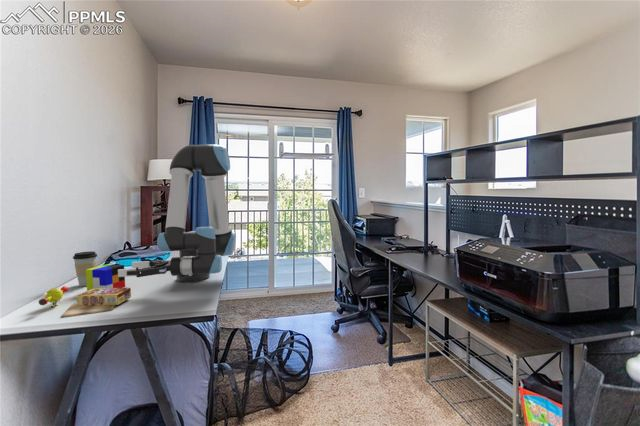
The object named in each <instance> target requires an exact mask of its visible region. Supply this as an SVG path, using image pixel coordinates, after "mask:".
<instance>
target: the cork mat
mask: <svg viewBox="0 0 640 426" xmlns="http://www.w3.org/2000/svg"><path fill="white" fill-rule="evenodd" d="M115 307H116V305H91V306H77V303H71V305H70V306H69V307H68V308H67V309H66V310H65V311H64V312H63V313H62V315H61V318H67V317H74V316H81V315H88V314H94V313H95V314H96V313H102V312H110V311H114V309H115Z"/></svg>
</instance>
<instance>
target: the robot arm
mask: <svg viewBox="0 0 640 426" xmlns="http://www.w3.org/2000/svg"><path fill="white" fill-rule="evenodd" d="M230 160H231V159H230V155H229V152H228V150H227V148H226V146H224V145H223V144H221V145H220V144H187V145H186V146H184V147H182V148H180V150H179V151H177V153H176V154H175V155H174V156H173V158H172V160H171V162H170V165H169V170H168V171H169V175H170V176H171V177H170V178H171V179H170V185H169V195H168V203H167V211H166V219H165V220H166V221H165V227H164V229H165V230H164V231H165V232H160V233H159V234H158V237H157V238H156V239H157V240H156V243H157V248H158V249H159V250H160V251H161V252H179V256H173V257H171V259H170V260H167V259H166V260H162V259H153V260H151V261H149V260H148V261H147V260H146V261H145V260H144V261H132V262H131V266H132V267H131V268H124V269H119V270H118V277H125V278H126V277H136V278H143V277H147V276H148V277H149V276H155V275H165V274H166V273H167V272H170V274H171V276H173V277H175V276H176V281H178V282H180V283H181V282H182V283H189V282H190V283H191V282H199V281H203V280H206V279H208V278H210V277H211V274H219V273H221V271H222V268H223V258H222V257H225V256H232V255H233V254H234V252H235V248H236V237H237V235H236V232H235V231H233V230H232V227H231V226H230V225H229V221H228V219H229V218H228V209H227V207H228V206H227V195H226V184H225V183H226V182H225V177H226V176H227V175H228V171H230V170H231V161H230ZM194 172H200V176H201V177H202V178H203V179H204V182H205V183H204V185H205V194H206V201H207V203H206V204H207V211H208V212H207V213H208V221H209V226H200V227H199V226H198V227H196V228H195V230H191V231H186V224H187V223H186V222H187V215H188V213H187V212H188V203H189V202H188V201H189V192H190V191H189V190H190V181H191V178H192V177H193V176H194V175H193V173H194Z"/></svg>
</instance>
